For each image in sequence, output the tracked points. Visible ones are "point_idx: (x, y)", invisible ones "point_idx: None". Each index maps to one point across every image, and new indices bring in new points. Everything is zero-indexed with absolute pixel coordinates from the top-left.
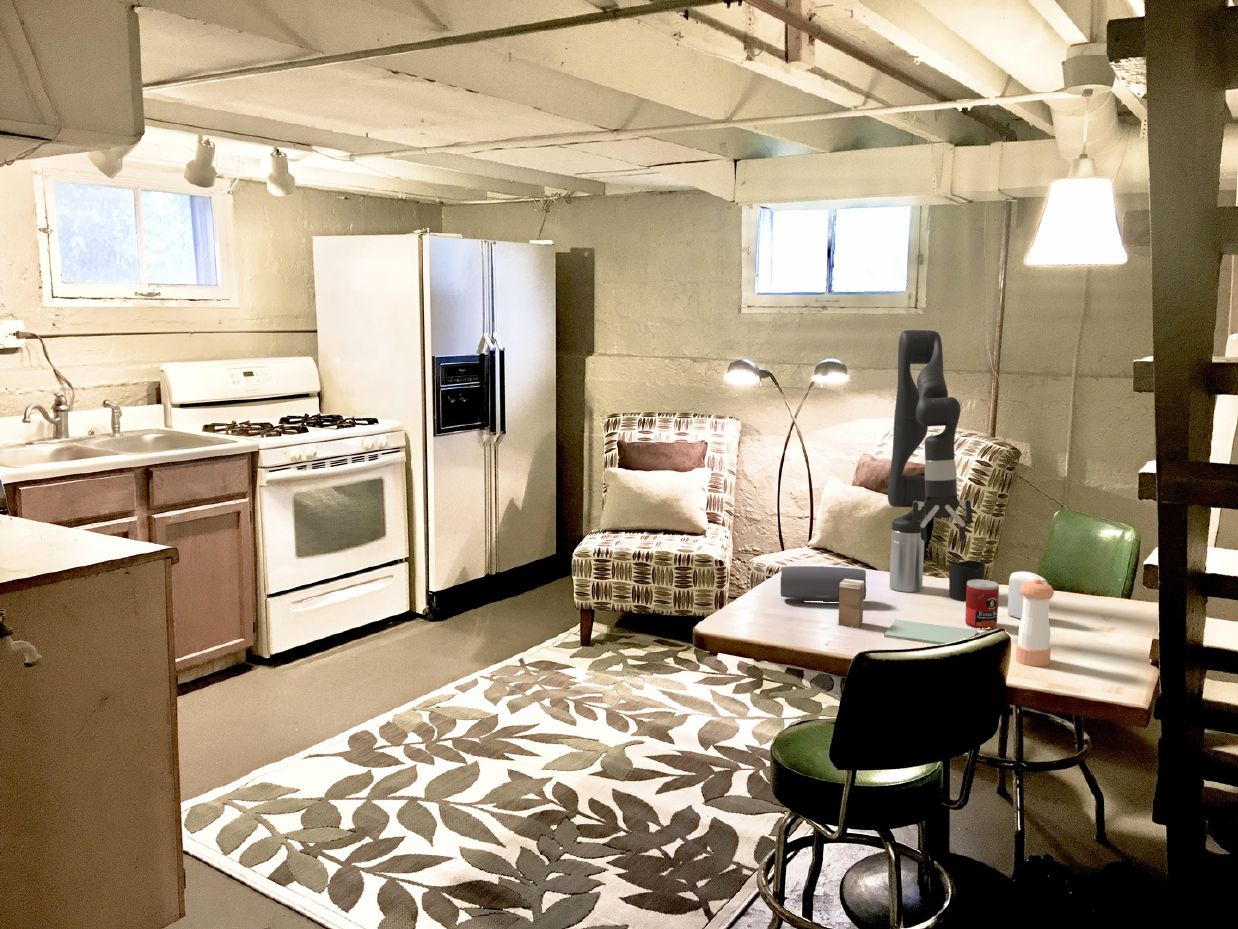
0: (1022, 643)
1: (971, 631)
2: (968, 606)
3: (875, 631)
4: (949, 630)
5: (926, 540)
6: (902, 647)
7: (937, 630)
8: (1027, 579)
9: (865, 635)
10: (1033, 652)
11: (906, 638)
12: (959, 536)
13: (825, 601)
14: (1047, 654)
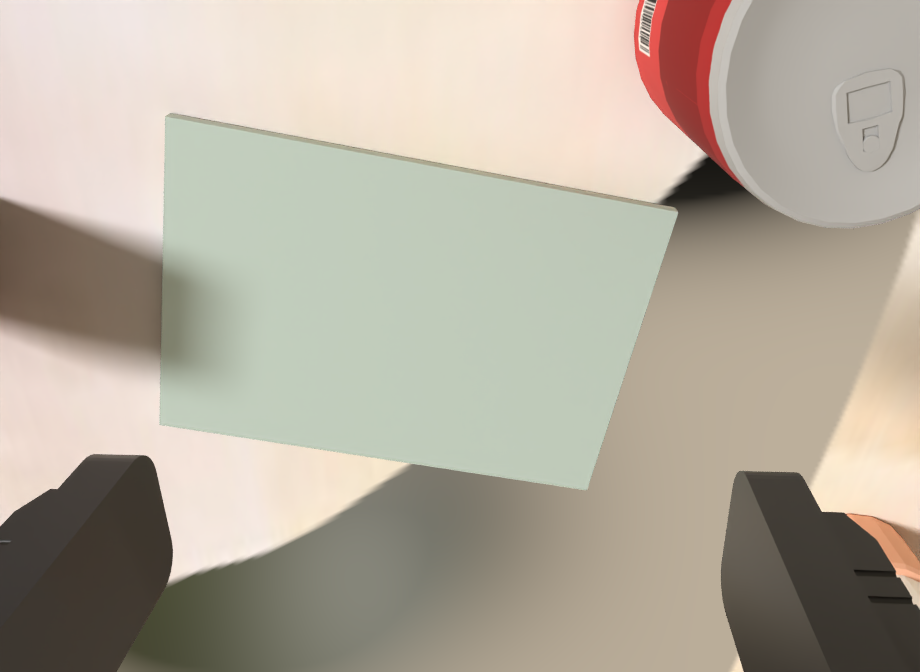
0: None
1: (636, 253)
2: (670, 107)
3: (98, 340)
4: (507, 268)
5: (155, 592)
6: (274, 537)
7: (437, 286)
8: None
9: (67, 418)
10: None
11: (278, 439)
12: (745, 629)
13: None
14: None
